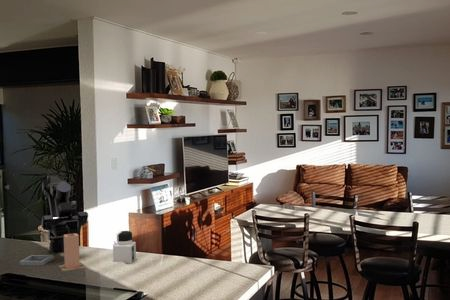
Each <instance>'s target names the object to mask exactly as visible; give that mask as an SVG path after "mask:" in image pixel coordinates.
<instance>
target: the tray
mask: <svg viewBox="0 0 450 300" xmlns="http://www.w3.org/2000/svg"><path fill="white" fill-rule="evenodd" d="M54 257H55V256H54V254H50V255H49V254H36V255H35V254H31V255H29V256H27V257H25V258H24V259H21V260H20V261H19V266H44V265H45V264H48V263H49V262H51V261H52V260H54V259H55V258H54Z"/></svg>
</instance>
